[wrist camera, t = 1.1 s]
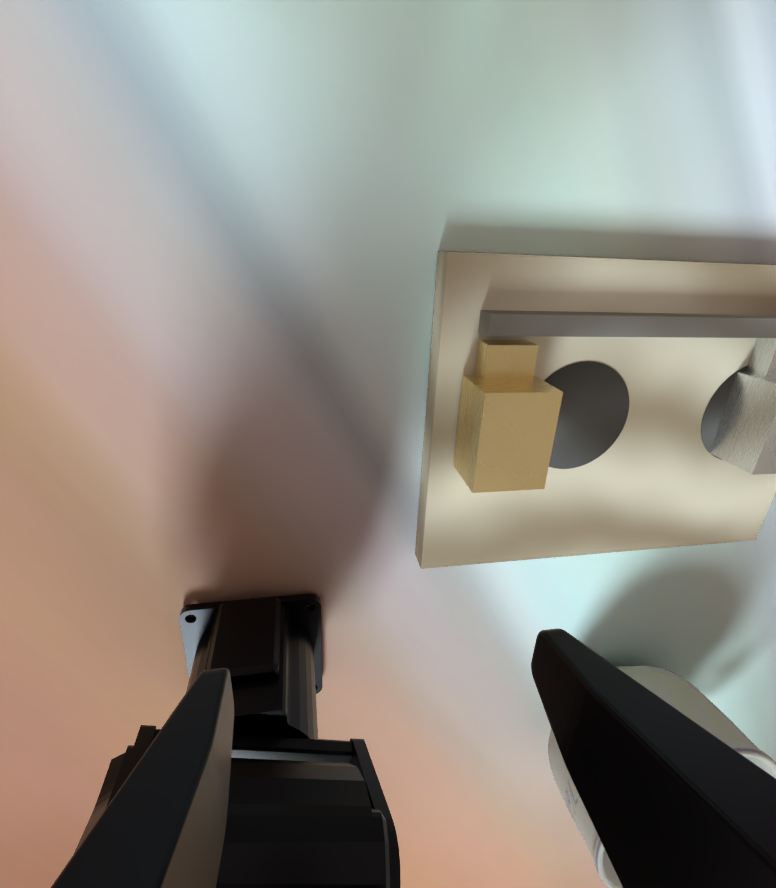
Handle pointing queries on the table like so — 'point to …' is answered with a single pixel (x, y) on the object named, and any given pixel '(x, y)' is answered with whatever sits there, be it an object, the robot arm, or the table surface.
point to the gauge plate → (598, 404)
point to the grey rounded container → (688, 704)
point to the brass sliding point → (505, 420)
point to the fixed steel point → (751, 415)
